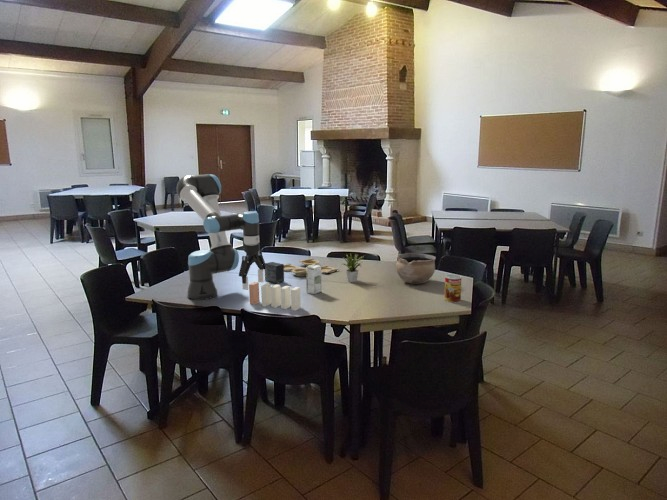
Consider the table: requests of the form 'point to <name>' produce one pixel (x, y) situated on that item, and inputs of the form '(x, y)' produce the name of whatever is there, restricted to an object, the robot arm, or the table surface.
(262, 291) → the domino
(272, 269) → the small box
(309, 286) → the syrup box
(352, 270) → the house plant
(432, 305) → the table surface
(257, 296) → the domino
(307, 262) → the tableware set
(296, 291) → the domino
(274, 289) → the domino
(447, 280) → the canned food
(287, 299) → the domino
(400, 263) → the ceramic bowl
